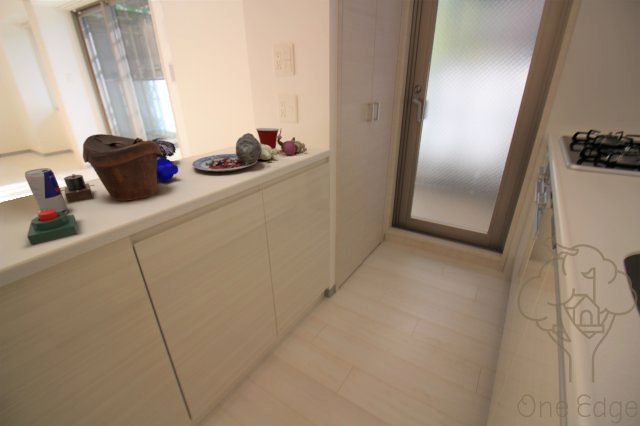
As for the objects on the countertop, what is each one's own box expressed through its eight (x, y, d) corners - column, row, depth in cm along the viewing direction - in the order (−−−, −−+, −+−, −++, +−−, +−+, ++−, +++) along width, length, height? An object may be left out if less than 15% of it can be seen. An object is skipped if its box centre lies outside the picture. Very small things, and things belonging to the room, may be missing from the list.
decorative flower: (126, 157, 112) (143, 140, 124) (148, 180, 119) (162, 162, 131) (156, 143, 109) (170, 127, 121) (177, 167, 116) (188, 150, 128)
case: (171, 197, 88) (158, 137, 80) (92, 209, 80) (68, 144, 72) (170, 180, 102) (158, 128, 95) (102, 189, 94) (84, 133, 87)
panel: (62, 205, 83) (58, 194, 82) (62, 196, 89) (59, 186, 88) (98, 198, 88) (95, 188, 87) (96, 190, 94) (93, 181, 93)
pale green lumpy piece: (283, 160, 131) (261, 157, 139) (284, 144, 129) (261, 142, 138) (261, 161, 120) (238, 158, 129) (261, 144, 119) (238, 142, 127)
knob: (85, 188, 87) (81, 176, 85) (67, 191, 85) (62, 179, 83) (86, 184, 90) (82, 172, 89) (68, 187, 88) (64, 175, 86)
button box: (31, 245, 63) (23, 228, 61) (34, 231, 69) (27, 216, 67) (77, 233, 68) (71, 218, 66) (76, 222, 73) (70, 207, 72)
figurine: (310, 125, 140) (294, 127, 127) (311, 153, 144) (295, 157, 132) (291, 125, 144) (274, 126, 132) (292, 151, 149) (275, 155, 136)
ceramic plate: (270, 162, 125) (269, 155, 124) (227, 179, 104) (226, 171, 103) (225, 156, 136) (224, 149, 134) (178, 170, 115) (177, 162, 114)
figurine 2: (296, 148, 148) (295, 136, 145) (290, 153, 142) (288, 141, 139) (282, 148, 151) (281, 136, 148) (276, 153, 144) (274, 140, 141)
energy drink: (73, 212, 79) (56, 169, 74) (49, 220, 74) (30, 175, 69) (62, 208, 81) (45, 167, 76) (38, 216, 76) (19, 172, 71)
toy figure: (153, 157, 94) (127, 153, 101) (159, 185, 97) (134, 180, 104) (178, 153, 101) (152, 150, 108) (183, 179, 105) (158, 175, 112)
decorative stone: (237, 124, 123) (261, 125, 125) (238, 146, 129) (261, 146, 131) (233, 143, 106) (261, 143, 108) (235, 167, 111) (262, 167, 113)
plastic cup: (284, 151, 143) (283, 127, 138) (272, 156, 134) (271, 130, 129) (266, 150, 147) (264, 125, 142) (253, 154, 138) (251, 128, 133)
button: (40, 223, 65) (36, 216, 64) (40, 218, 67) (37, 211, 66) (58, 219, 66) (55, 212, 66) (58, 214, 69) (55, 208, 68)
